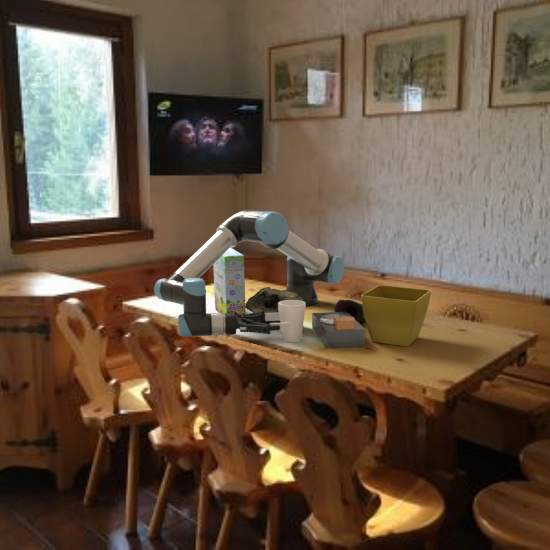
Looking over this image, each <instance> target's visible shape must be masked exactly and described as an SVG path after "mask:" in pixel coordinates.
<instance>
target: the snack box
mask: <svg viewBox="0 0 550 550" xmlns="http://www.w3.org/2000/svg"><path fill="white" fill-rule="evenodd" d="M212 266H213V267H212V268H213V284H214V285H213V286H214V307H215V310H216V311H218V312H217V313H223V314H225V313H232V312H234V313H235V314H236V318H237V315H244V314H247V311H246V310H247V309H246V308H245V306H246V282H245V281H246V277H245V255H244V254H242V253H241V252H239V251H237V250H235V249H234V248H233V247H230V248H229V249H228V250H227V251H226V252H225V253H224V254H223V255H222V256H221V257H220V258H219V259H218V260H217V261H216V262H215V263H214V264H213V265H212Z"/></svg>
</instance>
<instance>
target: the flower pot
mask: <svg viewBox="0 0 550 550" xmlns="http://www.w3.org/2000/svg"><path fill="white" fill-rule="evenodd" d="M431 295H432V290H431V289H425V288H413V287H404V286H396V285H386V284H385V285H384V284H379V285H376V286H375V287H373V288H371V289H369V290H368V291H365V292H364V293H362V294H361V295H360V298H361V304H362V306H363V312H364V317H365V324H366V327H367V332H368V333H369V337H370V340H371V341H372V343H373V342H374V343H380V344H386V345H392V346H400V347H408V346H410V345H411V344H412V343H413V342H415V340H416V339H418V338H419V336H420V333H421V330H422V328H423V325H424V321H425V319H426V315H427V312H428V309H429V305H430V301H431V300H430V299H431Z"/></svg>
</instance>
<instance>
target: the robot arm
mask: <svg viewBox="0 0 550 550" xmlns="http://www.w3.org/2000/svg"><path fill="white" fill-rule="evenodd" d="M242 242H252V243H253V242H254V243H258V244H260V245H262V246H264V247H266V248H267V249H269V250H278V251H279V252H280V253H282V254H284V255H285V256H287V258H286V277H287V279H286V280H287V284H286V288H285V290H290V291H294V292H296V293H297V295H298V296H301V297H302V298H303V300H304V302H305V303H306V306H307V307H308V306H313V305H316V304H318V303H319V296H318V293H317V289H316V286H315V282H320V283H324V284H329V285H331V284H333V285H334V284H338V283H339V282H341V280H342V278H343V277H344V276H343V275H344V273H345V262H344V259H343V257H341V256H339V255H332V254H330V253H329V252H327V251H326V250H325V249H322V248H315V247H314V246H312V245H311V244H310V243H308V242H307V241H305V240H304V239H302V238H300V237H299V236H298V235H297V234H295V233H294V232H293V231H291V230H290V228H289V224H288V220H287V218H286V217H285V215H283V213H280V212H277V211H273V210H255V209H253V210H252V209H244V210H240V211H238V212H236V213H234V214H233V215H231V216H229V217H228V218H227V219H225V220H224V221H223V222H222V223H220V224H219V226H218V227H216V231H215V233H214V234H213V235H212V236H211V237H210V238H209V239H208V240H207V241H206V242H205V243H204V244H203V245H202V246H200V247H199V249H198V250H196V251H195V252H194V253H193V254H192V255H191V256H190V257H189V258H188V259H187V260H186V261H185V262H184V263H183V264H182V265H180V267H178V268H177V270H176V271H174V272H173V273H172V275H170V276H169V277H168V278H167V277H166V278H160V279H158V280H157V281H156V282H155V285H154V287H153V291H154V294H155V296H156V297H157V298H158V299H159V300H162V301H165V302H169V303H174V304H178V305H182V306H183V307H182V308H183V313H182V314H179V315H178V316H177V323H178V324H177V325H178V326H177V328H178V331H177V332H178V335H179V336H180V337H192V338H194V337H206V336H214V337H216V338H217V337H218V336H223V335H224V334H225V335H226V336H232V335H233V336H234V335H236V334H237V331H238V330H239V332H240V333H254V334H255V333H256V334H263V335H265V334H266V335H271V332H273V333H274V332H282V331H290V323H289V322H286V323H276V322H274V321H280V315H279V313H265V311H262V312H256V313H253V312H251V313H246V314H244V315H237V318H236V314H235V313H234V312H232V313H225V314H223V313H219V312H211V313H208V312H207V290H206V282H205V280H204V279H203V278H200V277H202V276H203V275H204V274H205V273H206V272H207V271H208V270H209V269H210V268H211V267H212V266H213V264H214V263H215V262H216V261H217V260H218V259H219V258H220V257H221V256H222V255H223V254H224V253H225V252H226V251H227V250H228V249H229V248H235V247H236V246H237V245H239V244H240V243H242ZM263 321H265V322H270V323H264V322H263ZM262 322H263V323H262Z"/></svg>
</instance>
